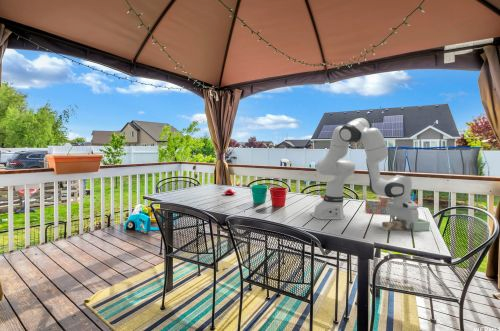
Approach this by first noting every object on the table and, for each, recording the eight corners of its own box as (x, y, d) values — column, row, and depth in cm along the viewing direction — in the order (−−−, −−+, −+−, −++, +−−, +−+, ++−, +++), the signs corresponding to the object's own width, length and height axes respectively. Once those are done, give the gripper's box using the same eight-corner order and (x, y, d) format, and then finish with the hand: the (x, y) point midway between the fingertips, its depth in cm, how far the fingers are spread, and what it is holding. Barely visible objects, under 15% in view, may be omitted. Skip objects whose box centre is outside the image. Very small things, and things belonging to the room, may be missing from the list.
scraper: (389, 232, 137) (390, 224, 137) (378, 227, 146) (378, 219, 145) (410, 230, 140) (411, 223, 140) (398, 225, 149) (398, 218, 148)
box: (413, 231, 138) (414, 223, 138) (396, 224, 151) (396, 216, 150) (429, 230, 141) (429, 221, 140) (410, 223, 153) (411, 215, 152)
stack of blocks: (366, 213, 175) (367, 196, 174) (365, 211, 181) (365, 194, 180) (400, 215, 170) (401, 198, 169) (396, 213, 176) (397, 196, 175)
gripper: (383, 198, 152) (382, 220, 153) (411, 206, 132) (410, 231, 133) (392, 198, 153) (391, 219, 154) (421, 206, 133) (419, 230, 135)
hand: (400, 225), depth 144 cm, fingers open, 8 cm apart
